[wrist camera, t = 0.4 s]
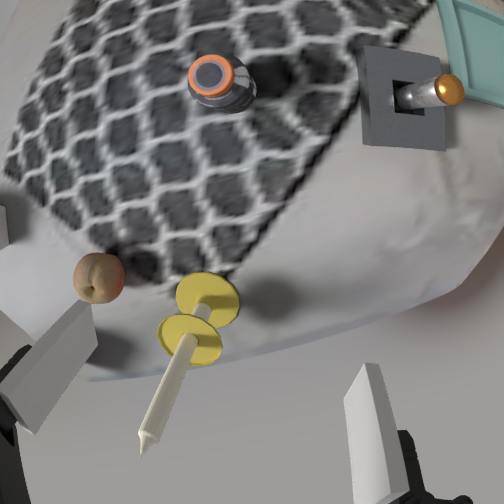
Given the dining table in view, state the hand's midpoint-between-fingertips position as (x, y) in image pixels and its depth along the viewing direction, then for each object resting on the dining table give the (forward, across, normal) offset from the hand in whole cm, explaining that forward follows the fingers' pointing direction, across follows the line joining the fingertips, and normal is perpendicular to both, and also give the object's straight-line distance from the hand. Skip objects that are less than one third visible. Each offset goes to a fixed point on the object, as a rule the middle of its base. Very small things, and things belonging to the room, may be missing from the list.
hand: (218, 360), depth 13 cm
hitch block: (+27, +14, +18) cm, 35 cm away
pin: (+27, +14, +18) cm, 35 cm away
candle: (+27, -6, -16) cm, 32 cm away
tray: (+27, +27, +31) cm, 49 cm away
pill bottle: (+27, -6, +14) cm, 31 cm away
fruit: (+27, -22, -14) cm, 38 cm away
